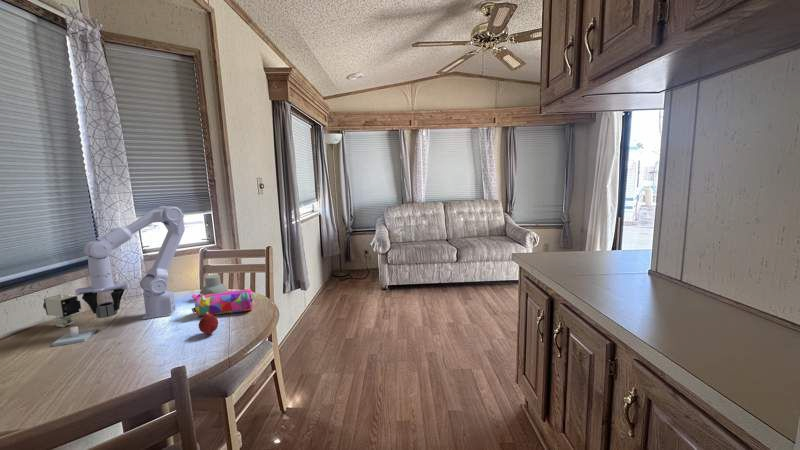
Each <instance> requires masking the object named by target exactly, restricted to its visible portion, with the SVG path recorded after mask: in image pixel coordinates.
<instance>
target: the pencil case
mask: <svg viewBox="0 0 800 450" xmlns="http://www.w3.org/2000/svg"><path fill="white" fill-rule="evenodd" d="M191 298H193V299H194V300H195V302H194V307H193V308H191V312H192V313H193V314H195V316H196V317H204V316H205V315H206V312H209V314H211V315H214V316H215V315H223V314H233V313H240V312H248V311H252V310H253V308H254V304H255V296H254V292H253V290H252V289H251V288H249V289H240V290H227V291H226V292H221V293H216V294H208V295H202V294H200V293H198V294H197V295H196V294H194V293H193V294H192V295H191Z"/></svg>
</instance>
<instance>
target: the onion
mask: <svg viewBox="0 0 800 450" xmlns="http://www.w3.org/2000/svg"><path fill="white" fill-rule="evenodd" d="M218 326H219V320H218V318H217V317H216V316H215V315H211V314H209V312H206V315H203V316H202V318H201V319H200V320H199V323H198V329H199V330H200V332H201V333H204V334H206V335H209V334H210V335H212V334H213V333H214V332H215V331H216V330H217V328H218Z"/></svg>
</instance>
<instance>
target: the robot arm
mask: <svg viewBox="0 0 800 450" xmlns="http://www.w3.org/2000/svg"><path fill="white" fill-rule="evenodd" d="M184 217H185V214H184V213H183V212H182V210H181V209H180V208H179V207H177V206H167V205H159V206H158V207H157V208H154V209H152V210H149V211H148V212H147V213H145V214H143V216H140V217H139V218H138V219H136V220H135V221H133V222H131V223H129V224H128V225H126V226H125V227H121V226H118V227H113V228H111V229H110V231H109V232H108V233H106V234H104V235H102V236H98V237H96V240H91V241H88V243H86V244H85V246H84V248H83V253H84V254H85V255H86V257H87V261H88V272H89V278H90V284H91V286H87V287H81V288H80V287H79V288H76V289H75V290H74V292H75V296H77V297H78V296H80V295H82V297H81V299H82V300H83V301H84V302H85V303H86V305H88V306H89V307H90V309H91V311H92V313H93V314H96V311H95V306H96V305H98V304H99V303H98V293H105V292H111V293H110V295H111V298H112V302H114V309H115V311H116V310H117V311H118V310H120V304H121V301H122V297H123V294H124V292H125V291H126V290H129V289H131V285H130V282H124V283H123V282H122V283H121V282H119V283H114V278H113V271H112V266H111V265H112V264H111V260H110V255H111V253H112V251H113V250H115V249H117V248H119V247H121V246H122V245H124V244H125V243H127V242H128V241H130V240H131V239H132V236H133V235H134V234H135V233H137V232H139V231H141V230H143V229H144V228H146V227H148V226H150V225H152V224H153V223H162V224H163V225H164V227H165V229H166V230H167V233H166V235H165V238H164V239H163V242H162V244H161V247H160V249H159V251H158V253H157V256H156V258H155V260H154V263H153V265H152V267H151V268H150V269H149V270H147V272H146V274H145V275H144V277H141V280H140V281H139V287H140V288H141V289H142V290H143V294H142V295H143V301H144V309H145V310H144V311H145V314H144V316H143V317H142V318H141V319H142V320H148V319H155V318H162V317H168V316H172V315H173V314H174V312H175V310H176V303H175V295H174V291H172V290H169V291H168V286H169V284H168V280H169V278H170V276H169V269H170V266H171V265H172V262H173V259H174V257H175V254H176V252H177V250H178V247H179V245H180V243H181V240H182V237H183V235H184V233H185V230H186V228H185V222H184Z"/></svg>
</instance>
